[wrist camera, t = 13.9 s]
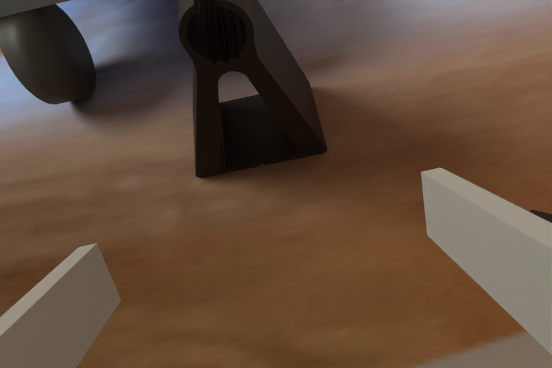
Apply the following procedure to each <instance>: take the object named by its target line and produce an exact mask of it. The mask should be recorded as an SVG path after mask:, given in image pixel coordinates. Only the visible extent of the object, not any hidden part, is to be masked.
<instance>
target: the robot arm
mask: <svg viewBox="0 0 552 368" xmlns="http://www.w3.org/2000/svg"><path fill="white" fill-rule="evenodd" d="M421 177H422V187H423V197H424V207H425V217H426V227H427V235H428V236H429V237H430V238H431V239H432V240H433V241H434V242H435V243H436V244H437V245H438V246H439V247H440V248H441V249H442V250H443V251H444V252H445V253H446V254H447V255H449V256H450V257H451V258H452V259H453V260H454V261H455V262H456V263H457V264H458V265H459V266H460V267H461V268H462V269H463V270H464V271H465V272H466V273H467V274H468V275H469V276H470V277H471V278H472V279H473V280H475V281H476V282H477V283H478V284H479V285H480V286H481V287H482V288H483V289H484V290H485V291H486V292H487V293H488V294H489V295H490V296H491V297H492V298H493V299H494V300H495V301H496V302H497V303H498V304H499V305H500V306H502V307H503V308H504V309H505V310H506V311H507V312H508V313H509V314H510V315H511V316H512V317H513V318H514V319H515V320H516V321H517V322H518V323H519V324H520V325H521V326H522V327H523V328H524V329H525V330H526V331H528V332H529V333H530V334H531V335H532V336H533V337H534V338H535V339H536V340H537V341H538V342H539V343H540V344H541V345H542V346H543V347H544V348H545V349H546V350H547V351H548V352H549V353H550V354H551V355H552V214H548V213H544V212H540V211H536V210H530V211H526V210H524V209H522V208H520V207H518V206H516V205H514V204H512V203H510V202H508V201H506V200H505V199H503V198H501V197H499V196H497V195H495V194H493V193H491V192H489V191H487V190H485V189H483V188H481V187H479V186H477V185H475V184H473V183H471V182H469V181H467V180H465V179H463V178H461V177H459V176H457V175H455V174H453V173H451V172H449V171H447V170H445V169H443V168H436V169H432V170H427V171H423V172H421ZM120 301H121V299H120V296H119V294H118V292H117V289H116V287H115V285H114V282H113V280H112V278H111V275H110V273H109V270H108V268H107V266H106V263H105V261H104V259H103V256H102V254H101V252H100V249H99V247H98V244H97V243H95V244H91V245H86V246H82V247H78V248H77V249H76V250H75V251H74V252H73V253H72V254H71V255H69V256H68V257H67V258H66V259H65V260H64V261H63V262H62V263H60V264H59V265H58V266H57V267H56V268H55V269H54V270H53V271H51V272H50V273H49V274H48V275H47V276H46V277H45V278H44V279H43V280H41V281H40V282H39V283H38V284H37V285H36V286H35V287H34V288H32V289H31V290H30V291H29V292H28V293H27V294H26V295H25V296H23V297H22V298H21V299H20V300H19V301H18V302H17V303H16V304H14V305H13V306H12V307H11V308H10V309H9V310H8V311H7V312H6V313H4V314H3V315H2V316H1V317H0V368H77V366H78V365H79V363H80V362H81V360H82V359H83V357H84V356H85V354H86V353H87V351H88V350H89V348H90V347H91V345H92V344H93V342H94V341H95V339H96V338H97V336H98V334H99V333H100V331H101V330H102V328H103V327H104V325H105V324H106V322H107V321H108V319H109V318H110V316H111V315H112V313H113V312H114V310H115V309H116V307H117V306H118V304H119V303H120Z"/></svg>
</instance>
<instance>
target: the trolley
mask: <svg viewBox="0 0 552 368" xmlns="http://www.w3.org/2000/svg"><path fill="white" fill-rule="evenodd" d="M65 1H69V0H0V46H1V49H2V52H3V54H4V56H5V59H6V61H7V63H8V64H9V66H10V68H11V70H12V71H13V73H14V74H15V76H16V77H17V78H18V80H19V81H20V82H21V83H22V84H23V86H24V87H25V88H26V89H27V90H28V91H29V92H30V93H32V94H33V95H34V96H35V97H37V98H38V99H40V100H42V101H44V102H46V103H49V104H60V103H64V102H68V101H73V100H77V99H81V98H85V97H89V96H90V95H91V94H92V93H93V92H94V89H95V85H96V74H95V68H94V64H93V60H92V57H91V54H90V52H89V49H88V47H87V44H86V42H85V40H84V38H83V37H82V35H81V33H80V31H79V30H78V28H77V27H76V25H75V24H74V23H73V21H72V20H71V19H70V17H69V16H68V15H67V14H66V13H65V12H64V11H63V10H62V9H61V8H59V7H58V6H57V5H55V4H56V3H61V2H65Z"/></svg>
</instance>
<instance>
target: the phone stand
mask: <svg viewBox="0 0 552 368" xmlns="http://www.w3.org/2000/svg"><path fill="white" fill-rule="evenodd" d="M178 21H179V37H180V41H181V43H182V45H183V47H184V48H185V50H186V51H187V52H188V54H189V55H190V57H191V59H192V61H193V122H194V145H195V169H196V176H197V177H200V178H203V177H208V176H213V175H218V174H223V173H228V172H233V171H238V170H243V169H248V168H253V167H257V166H259V165H261V164H264V165H267V164H272V163H277V162H282V161H287V160H292V159H297V158H302V157H307V156H312V155H317V154H322V153H325V152H326V151H327V147H326V143H325V139H324V136H323V132H322V128H321V124H320V121H319V117H318V113H317V109H316V106H315V102H314V98H313V94H312V91H311V87H310V83H309V81H308V80H307V78H306V77H305V75H304V73H303V72H302V70H301V69H300V67H299V65H298V64H297V62H296V61H295V59H294V58H293V56H292V54H291V53H290V51H289V50H288V48H287V46H286V45H285V43H284V42H283V40H282V38H281V37H280V35H279V34H278V32H277V30H276V29H275V27H274V26H273V24H272V23H271V21H270V19H269V18H268V16H267V15H266V13H265V11H264V10H263V8H262V7H261V5H260V3H259V2H258V0H178ZM230 71H238V72H241V73H243V74H245V75H246V76H247V77H248V78H249V80H250V81H251V83H252V84H253V86H254V87H255V89H256V90H257V92H258V93H259V95H254V96H250V97H245V98H240V99H235V100H231V101H226V102H221V103H219V98H218V80H219V78H220V77H221V76H222V75H223V74H225V73H227V72H230Z"/></svg>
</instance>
